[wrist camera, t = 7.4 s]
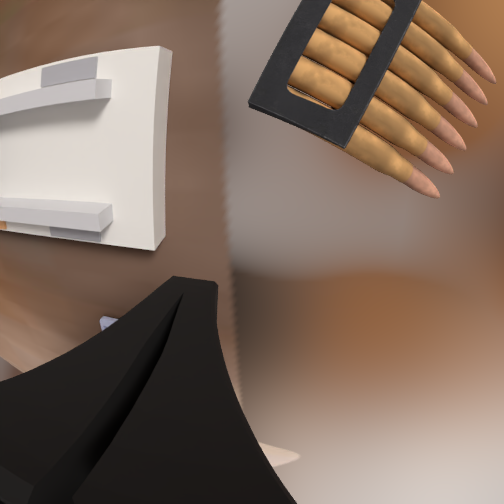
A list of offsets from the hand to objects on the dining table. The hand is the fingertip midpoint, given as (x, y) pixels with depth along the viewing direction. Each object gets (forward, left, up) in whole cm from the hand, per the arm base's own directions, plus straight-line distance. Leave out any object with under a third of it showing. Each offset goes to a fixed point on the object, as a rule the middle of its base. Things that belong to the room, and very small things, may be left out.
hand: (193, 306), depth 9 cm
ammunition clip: (+11, -2, -8) cm, 14 cm away
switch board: (+3, +13, -9) cm, 16 cm away
